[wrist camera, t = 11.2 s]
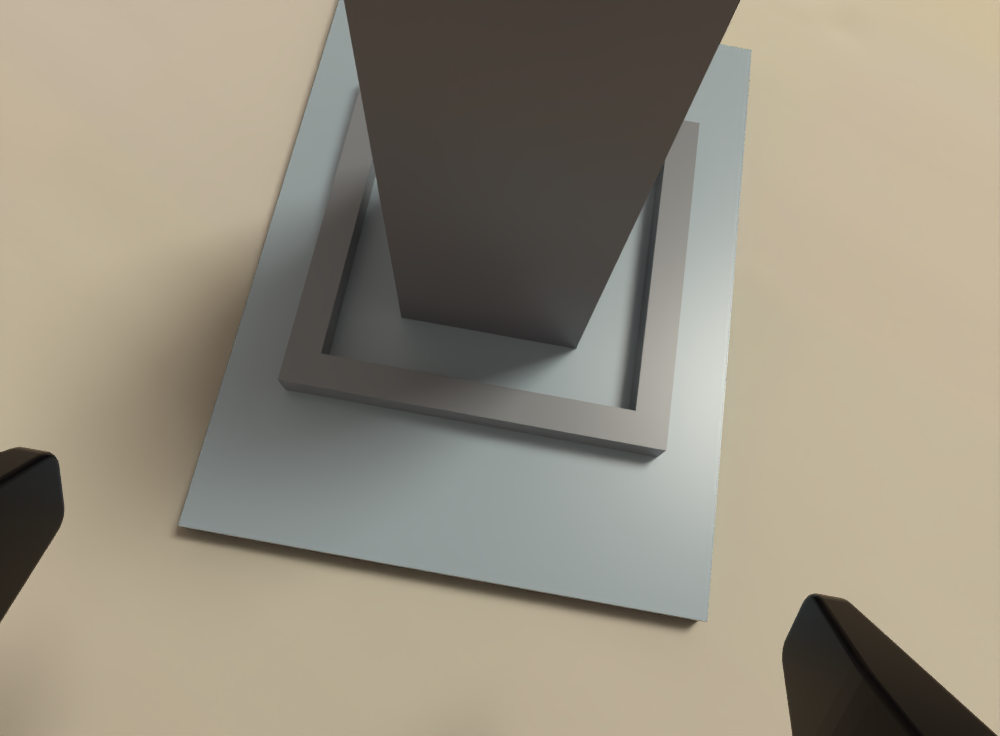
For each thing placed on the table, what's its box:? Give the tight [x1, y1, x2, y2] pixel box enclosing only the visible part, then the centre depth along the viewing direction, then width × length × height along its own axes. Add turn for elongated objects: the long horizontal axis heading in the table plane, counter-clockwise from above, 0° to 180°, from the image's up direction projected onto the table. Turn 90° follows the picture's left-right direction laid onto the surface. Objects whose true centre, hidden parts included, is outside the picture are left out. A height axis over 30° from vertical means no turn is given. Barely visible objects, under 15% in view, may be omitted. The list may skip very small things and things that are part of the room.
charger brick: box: [344, 0, 740, 349], centre depth 13 cm, size 4×4×12 cm
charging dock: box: [178, 0, 751, 622], centre depth 19 cm, size 16×12×2 cm
